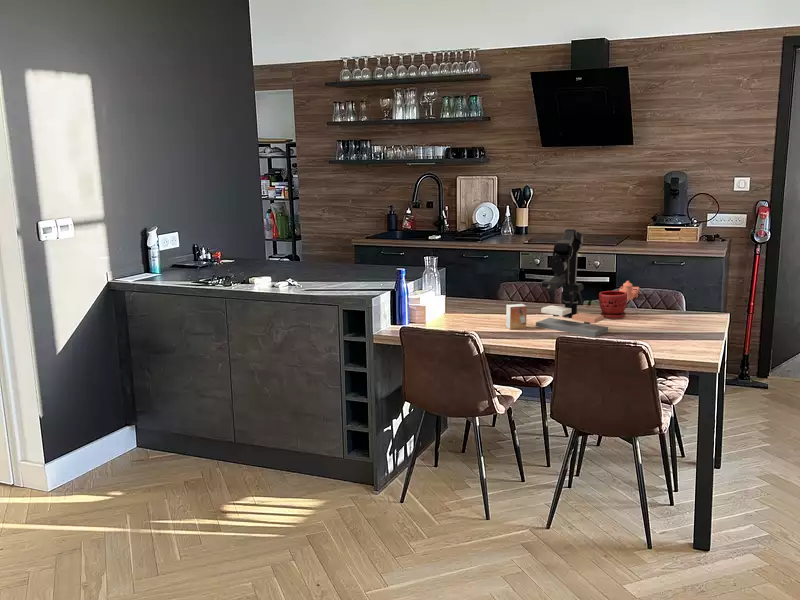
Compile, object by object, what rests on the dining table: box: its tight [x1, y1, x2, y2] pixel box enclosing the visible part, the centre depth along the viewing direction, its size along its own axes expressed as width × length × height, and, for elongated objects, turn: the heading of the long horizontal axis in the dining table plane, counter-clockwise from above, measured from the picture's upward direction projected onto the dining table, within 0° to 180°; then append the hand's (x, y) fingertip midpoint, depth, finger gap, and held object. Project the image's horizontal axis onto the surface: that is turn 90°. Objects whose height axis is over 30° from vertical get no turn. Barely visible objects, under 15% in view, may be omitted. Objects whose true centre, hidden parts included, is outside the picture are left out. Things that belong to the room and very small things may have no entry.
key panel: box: [535, 317, 609, 337], centre depth 356 cm, size 12×30×2 cm, turn 48°
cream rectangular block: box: [540, 305, 572, 318], centre depth 360 cm, size 8×11×4 cm
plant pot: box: [598, 290, 628, 320], centre depth 377 cm, size 13×13×12 cm
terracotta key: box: [571, 311, 604, 324], centre depth 350 cm, size 8×11×4 cm
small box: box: [505, 303, 528, 330], centre depth 360 cm, size 8×6×10 cm
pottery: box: [618, 280, 640, 301], centre depth 424 cm, size 18×10×10 cm, turn 158°
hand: (561, 304), depth 358 cm, fingers open, 9 cm apart
